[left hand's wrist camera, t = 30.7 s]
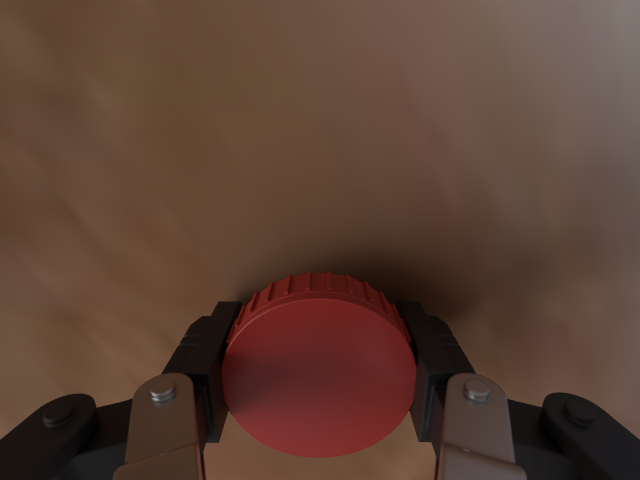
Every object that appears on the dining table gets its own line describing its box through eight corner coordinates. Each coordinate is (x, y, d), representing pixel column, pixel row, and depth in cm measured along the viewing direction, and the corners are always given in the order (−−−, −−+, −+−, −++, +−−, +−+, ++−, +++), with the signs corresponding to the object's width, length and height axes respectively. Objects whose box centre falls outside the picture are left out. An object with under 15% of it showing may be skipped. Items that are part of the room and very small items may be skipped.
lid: (268, 240, 10) (259, 263, 8) (439, 309, 11) (459, 342, 9) (207, 385, 11) (191, 425, 10) (359, 436, 12) (365, 481, 11)
